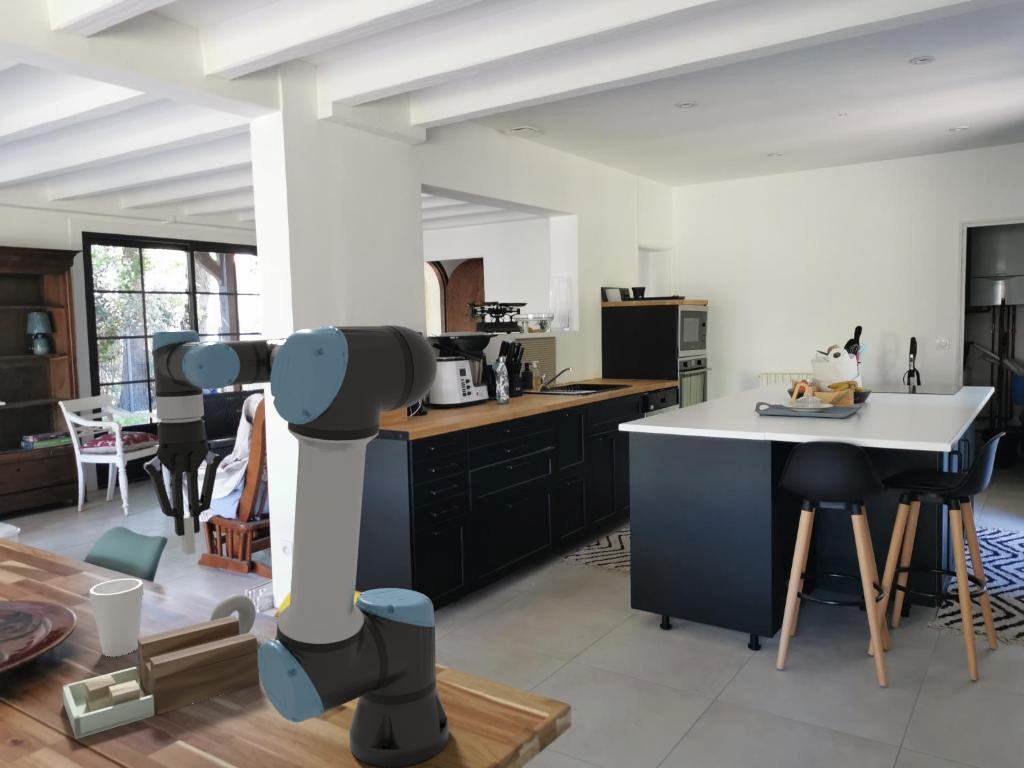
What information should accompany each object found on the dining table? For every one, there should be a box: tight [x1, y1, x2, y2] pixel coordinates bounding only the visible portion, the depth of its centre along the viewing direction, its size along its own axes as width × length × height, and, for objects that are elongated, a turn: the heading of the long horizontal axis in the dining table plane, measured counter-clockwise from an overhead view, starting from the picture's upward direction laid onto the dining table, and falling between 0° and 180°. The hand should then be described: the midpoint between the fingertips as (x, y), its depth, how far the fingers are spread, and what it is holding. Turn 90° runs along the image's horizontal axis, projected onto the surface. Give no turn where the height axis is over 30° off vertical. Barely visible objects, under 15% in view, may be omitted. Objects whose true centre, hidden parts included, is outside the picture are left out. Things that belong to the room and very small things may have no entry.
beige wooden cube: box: [109, 680, 141, 707], centre depth 129 cm, size 4×4×4 cm
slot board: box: [137, 614, 260, 715], centre depth 139 cm, size 14×17×8 cm
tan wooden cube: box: [84, 675, 116, 712], centre depth 131 cm, size 4×4×4 cm
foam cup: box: [89, 578, 145, 658], centre depth 154 cm, size 10×9×13 cm
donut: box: [209, 593, 256, 635], centre depth 156 cm, size 10×4×10 cm, turn 146°
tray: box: [62, 666, 155, 740], centre depth 131 cm, size 14×12×3 cm
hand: (188, 552), depth 136 cm, fingers closed
